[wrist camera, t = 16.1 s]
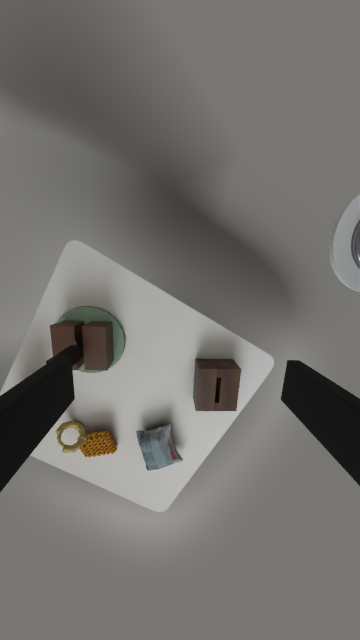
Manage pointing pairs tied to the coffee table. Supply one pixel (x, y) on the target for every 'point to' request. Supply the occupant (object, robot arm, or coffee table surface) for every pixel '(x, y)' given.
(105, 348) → the green disc stand
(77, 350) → the knife
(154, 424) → the coffee table surface
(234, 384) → the knife block
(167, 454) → the packaged food
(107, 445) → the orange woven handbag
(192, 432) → the coffee table surface
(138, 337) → the coffee table surface
